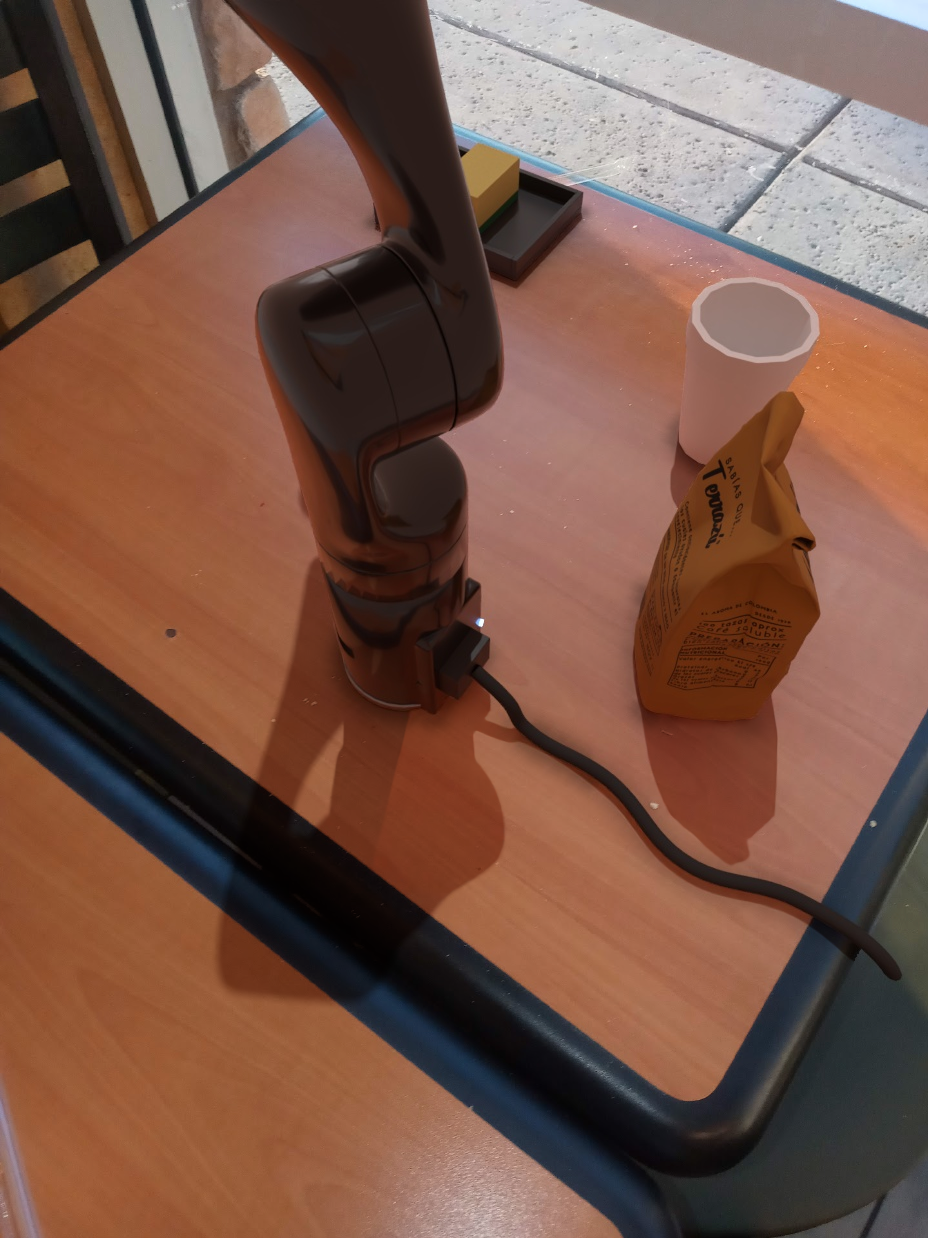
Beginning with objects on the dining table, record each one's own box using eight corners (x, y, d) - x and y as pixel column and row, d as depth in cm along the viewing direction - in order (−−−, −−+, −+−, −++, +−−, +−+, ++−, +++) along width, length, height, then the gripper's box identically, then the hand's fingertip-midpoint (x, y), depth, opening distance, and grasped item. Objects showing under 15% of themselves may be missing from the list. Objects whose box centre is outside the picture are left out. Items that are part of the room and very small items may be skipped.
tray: (581, 211, 95) (583, 191, 93) (515, 281, 90) (516, 261, 88) (445, 159, 100) (445, 139, 98) (374, 222, 95) (372, 202, 93)
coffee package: (767, 594, 70) (876, 381, 51) (764, 739, 64) (887, 557, 45) (638, 574, 71) (699, 358, 52) (622, 715, 65) (685, 527, 46)
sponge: (478, 182, 97) (478, 141, 93) (518, 198, 95) (520, 157, 91) (436, 221, 93) (434, 181, 89) (476, 238, 92) (477, 197, 88)
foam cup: (643, 413, 80) (671, 290, 69) (738, 390, 82) (781, 266, 70) (689, 492, 75) (726, 375, 64) (789, 467, 77) (843, 347, 66)
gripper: (177, -257, 56) (236, 27, 70) (358, -214, 52) (383, 81, 66) (258, -289, 60) (299, -11, 73) (434, -251, 55) (443, 37, 69)
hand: (338, 32), depth 69 cm, fingers open, 8 cm apart
